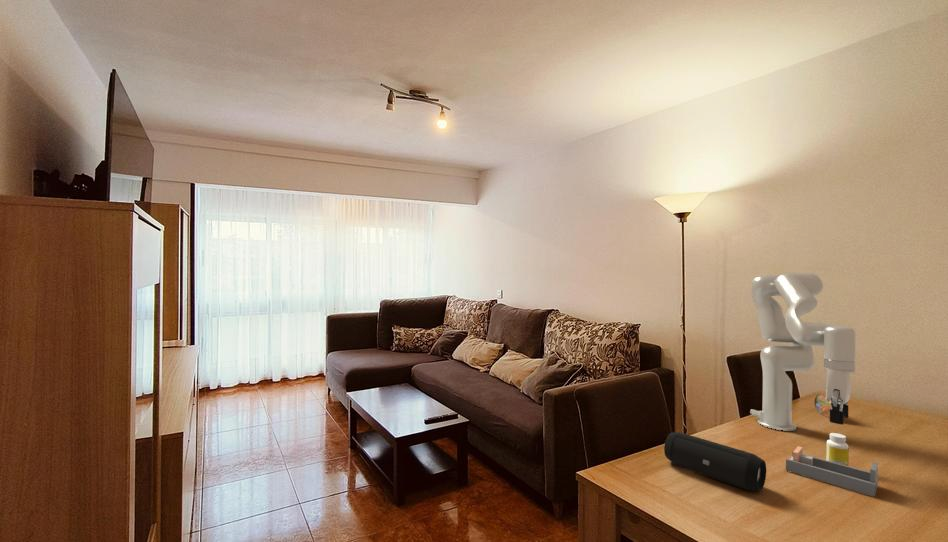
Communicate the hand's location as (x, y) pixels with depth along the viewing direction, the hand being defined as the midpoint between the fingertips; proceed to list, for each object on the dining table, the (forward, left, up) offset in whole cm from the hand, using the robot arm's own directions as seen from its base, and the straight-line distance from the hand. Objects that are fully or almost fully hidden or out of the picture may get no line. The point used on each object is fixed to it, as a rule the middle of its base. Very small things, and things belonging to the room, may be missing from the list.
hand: (839, 419), depth 135 cm
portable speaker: (-24, -37, -15) cm, 47 cm away
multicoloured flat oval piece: (-10, +57, -15) cm, 60 cm away
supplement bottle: (0, 0, -15) cm, 15 cm away
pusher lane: (0, -12, -15) cm, 19 cm away
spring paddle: (-7, -12, -14) cm, 19 cm away
